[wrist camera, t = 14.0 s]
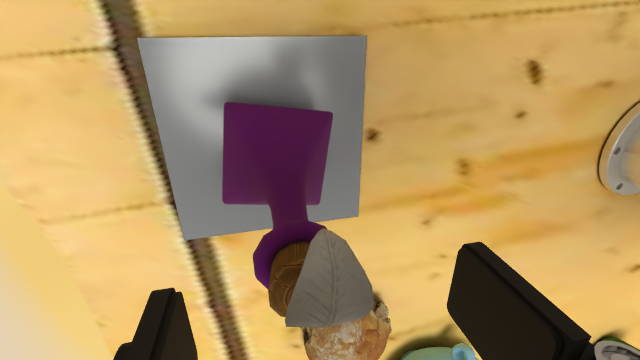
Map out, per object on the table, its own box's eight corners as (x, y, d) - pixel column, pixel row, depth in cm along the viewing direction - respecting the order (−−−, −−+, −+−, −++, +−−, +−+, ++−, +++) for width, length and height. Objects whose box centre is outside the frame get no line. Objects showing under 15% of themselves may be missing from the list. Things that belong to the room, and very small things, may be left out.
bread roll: (305, 271, 38) (286, 328, 31) (392, 279, 35) (392, 341, 28) (313, 328, 42) (297, 389, 35) (391, 338, 40) (390, 405, 33)
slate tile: (362, 35, 24) (366, 35, 24) (354, 211, 31) (358, 216, 30) (141, 38, 21) (136, 37, 20) (185, 233, 28) (184, 240, 27)
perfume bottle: (311, 187, 28) (409, 388, 12) (223, 185, 26) (199, 423, 10) (322, 103, 25) (473, 218, 9) (225, 93, 23) (195, 218, 7)
